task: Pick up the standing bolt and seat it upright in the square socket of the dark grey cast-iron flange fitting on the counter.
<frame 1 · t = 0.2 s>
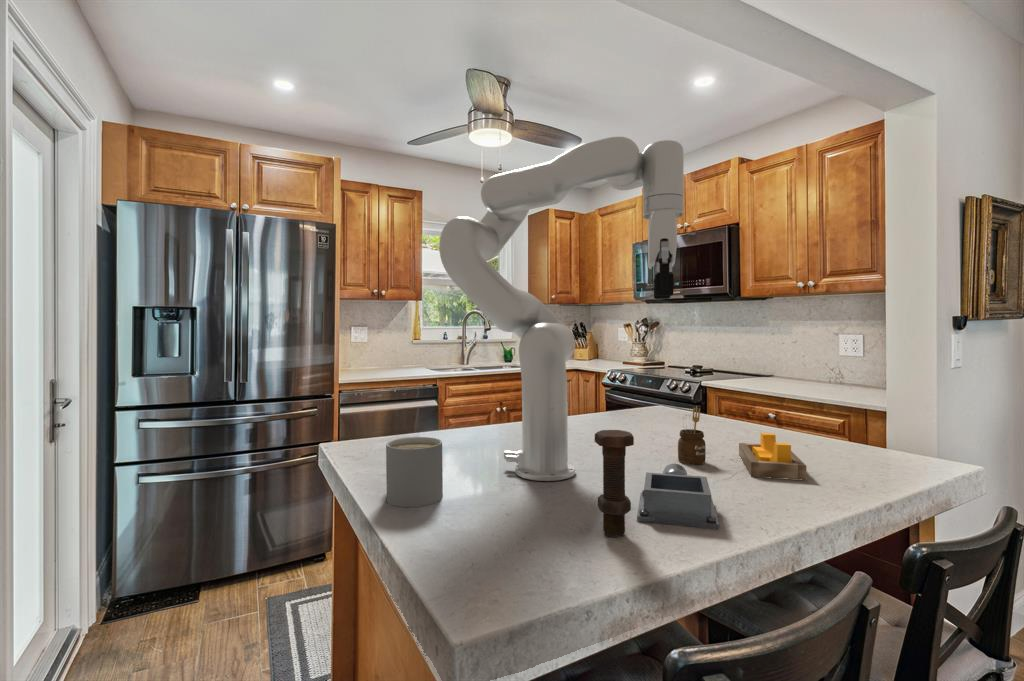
hand: (663, 297, 98), 36 cm above the countertop, tool pointing down, fingers open, 9 cm apart
utensil holder: (691, 462, 115), on the countertop
coffee mug: (412, 495, 93), on the countertop
bolt: (614, 535, 75), on the countertop
parts corral: (769, 466, 110), on the countertop
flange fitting: (676, 511, 83), on the countertop
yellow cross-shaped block: (770, 468, 110), resting in parts corral
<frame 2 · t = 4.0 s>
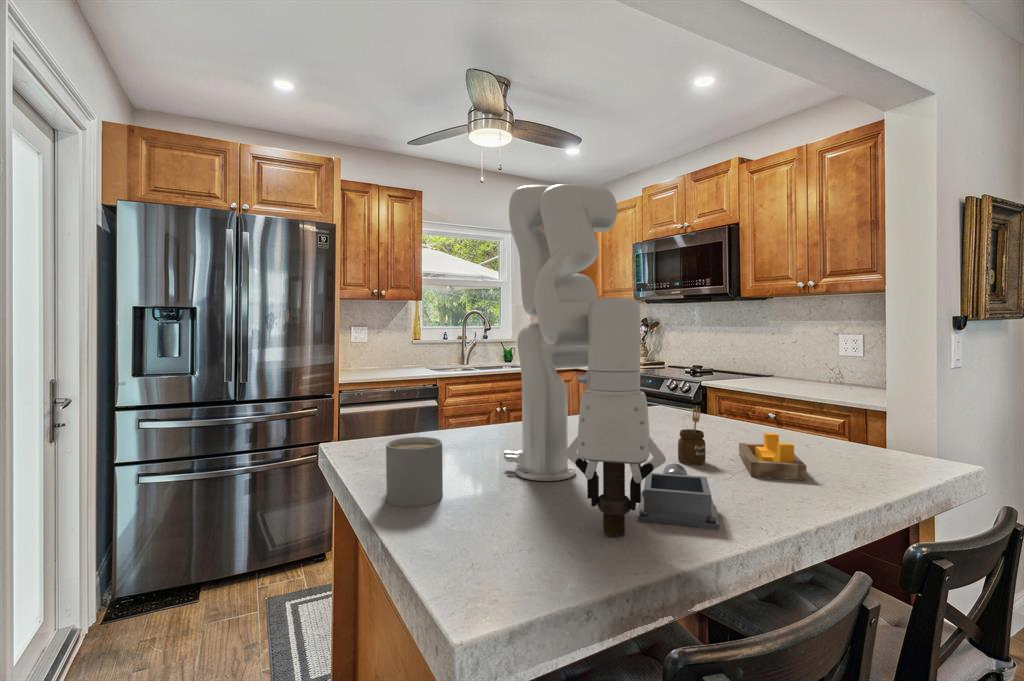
hand: (614, 504, 75), 4 cm above the countertop, tool pointing down, fingers closed on bolt, 4 cm apart
bolt: (614, 535, 75), on the countertop, touching gripper
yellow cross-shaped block: (773, 468, 110), resting in parts corral
everything else where it was.
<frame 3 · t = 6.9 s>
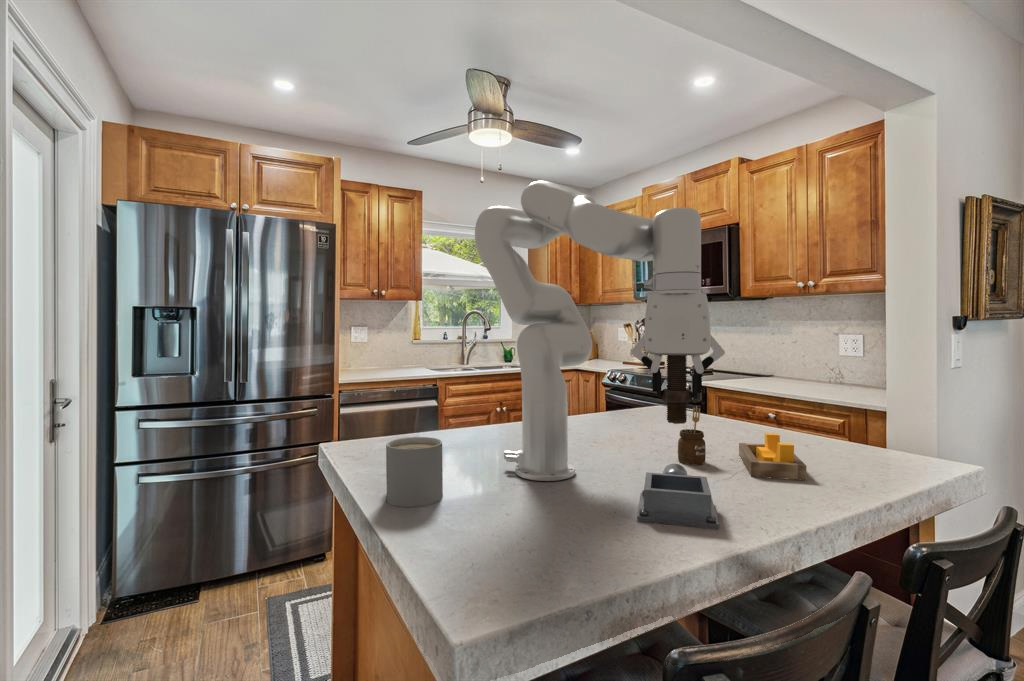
hand: (676, 395, 83), 19 cm above the countertop, tool pointing down, fingers closed on bolt, 4 cm apart
bolt: (676, 423, 83), point 15 cm above the countertop, touching gripper
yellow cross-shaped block: (773, 469, 110), resting in parts corral
everything else where it was.
when the fingers open (7 cm above the countertop, at t = 9.8 s): bolt drops 1 cm, resting on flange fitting.
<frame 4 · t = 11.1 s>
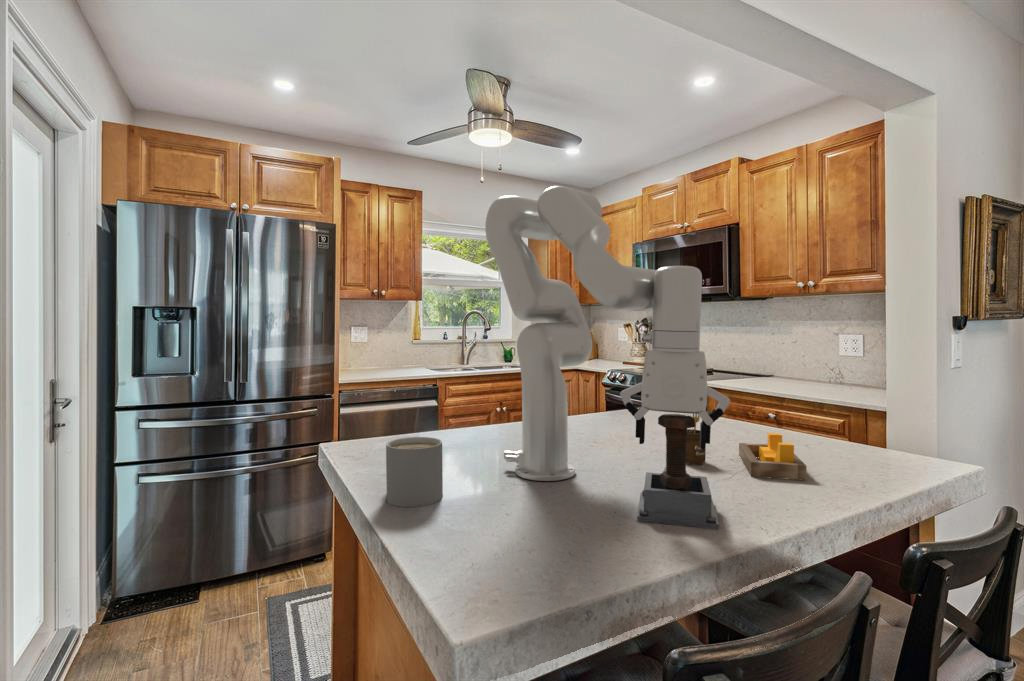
hand: (671, 444, 84), 11 cm above the countertop, tool pointing down, fingers open, 9 cm apart
bolt: (675, 507, 84), point 1 cm above the countertop, touching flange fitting
everything else where it was.
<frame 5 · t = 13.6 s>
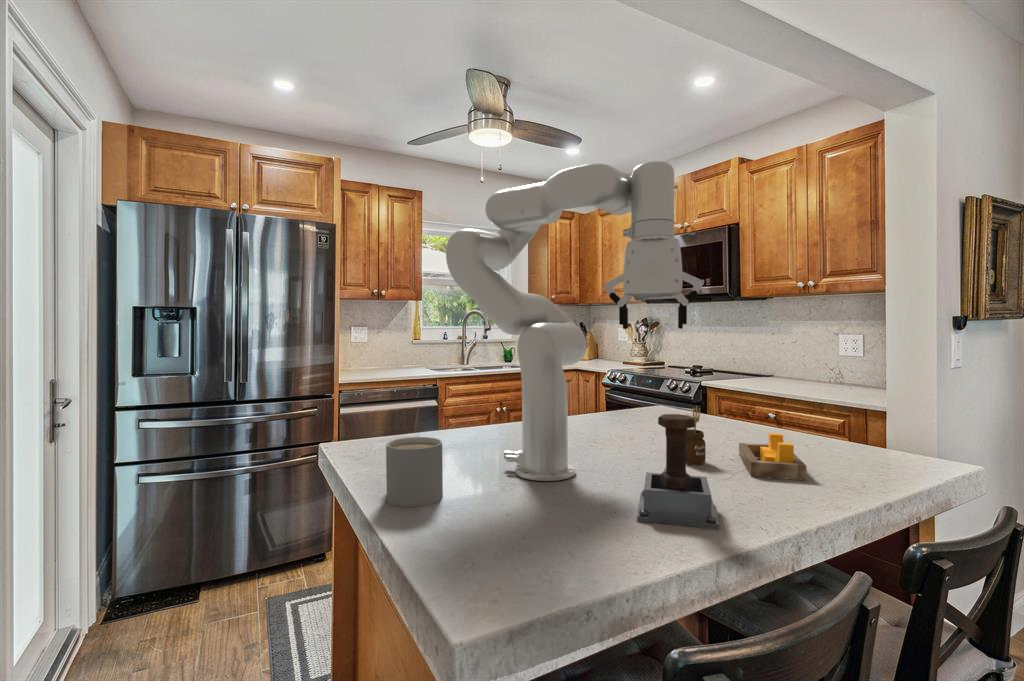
hand: (652, 328, 92), 30 cm above the countertop, tool pointing down, fingers open, 9 cm apart
nothing on the countertop moved.
at the end: bolt 0.1 cm off-centre on the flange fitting, point 0.6 cm above the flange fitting's base; bolt tilted 0°; the gripper is holding nothing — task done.
